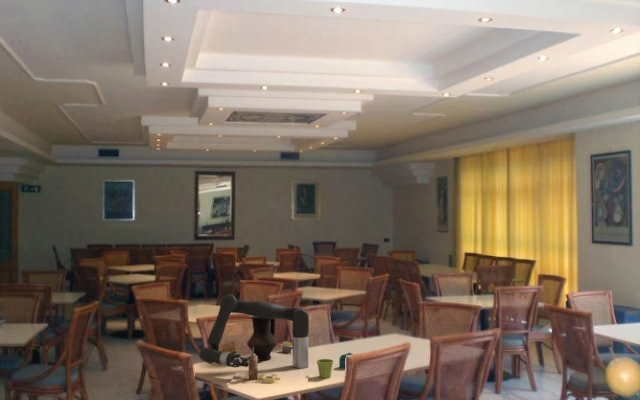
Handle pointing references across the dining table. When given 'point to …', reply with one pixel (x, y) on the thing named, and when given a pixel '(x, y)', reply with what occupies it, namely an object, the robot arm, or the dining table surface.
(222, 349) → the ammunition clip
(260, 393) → the dining table surface
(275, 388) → the dining table surface
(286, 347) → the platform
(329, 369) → the plant pot
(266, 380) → the stud finder
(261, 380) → the plywood panel
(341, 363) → the bracket
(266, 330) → the jug
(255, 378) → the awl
